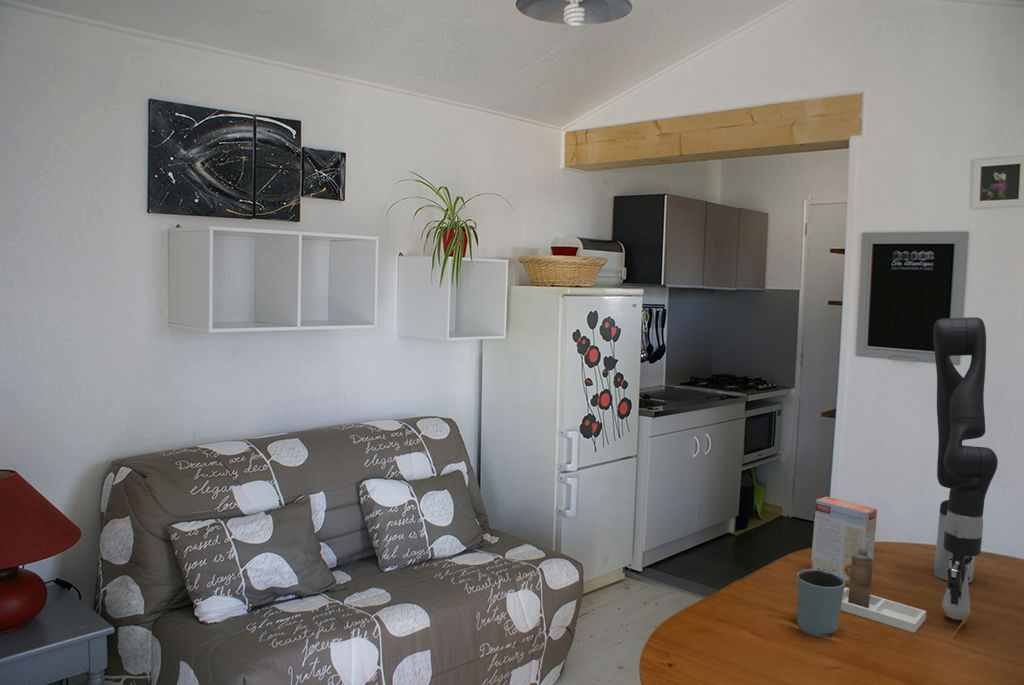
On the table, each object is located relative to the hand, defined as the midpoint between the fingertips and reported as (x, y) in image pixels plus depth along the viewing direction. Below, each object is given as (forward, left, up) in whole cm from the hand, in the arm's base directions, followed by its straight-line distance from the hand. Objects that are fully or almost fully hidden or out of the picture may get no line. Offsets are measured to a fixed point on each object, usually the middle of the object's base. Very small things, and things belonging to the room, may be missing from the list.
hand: (956, 602), depth 184 cm
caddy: (+9, -14, -5) cm, 18 cm away
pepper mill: (+9, -19, -4) cm, 21 cm away
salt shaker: (0, 0, -3) cm, 3 cm away
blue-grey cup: (+26, -22, -5) cm, 35 cm away
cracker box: (-7, -28, -5) cm, 30 cm away
